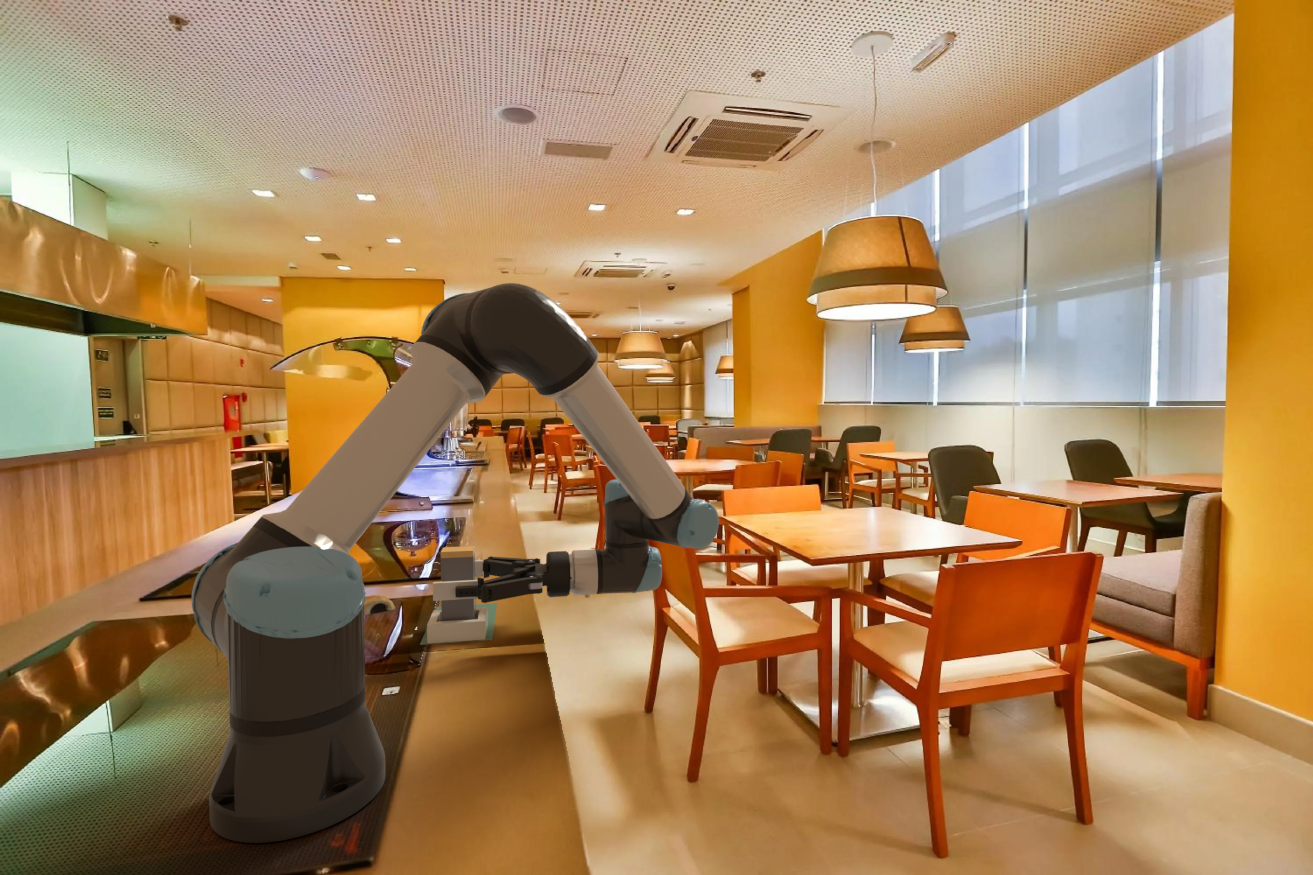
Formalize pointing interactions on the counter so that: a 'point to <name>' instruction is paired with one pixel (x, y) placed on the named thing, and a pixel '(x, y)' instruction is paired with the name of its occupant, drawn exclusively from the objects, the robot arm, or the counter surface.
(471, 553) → the plug
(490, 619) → the board
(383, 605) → the pastry
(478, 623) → the header
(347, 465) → the robot arm
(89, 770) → the counter surface
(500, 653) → the counter surface
